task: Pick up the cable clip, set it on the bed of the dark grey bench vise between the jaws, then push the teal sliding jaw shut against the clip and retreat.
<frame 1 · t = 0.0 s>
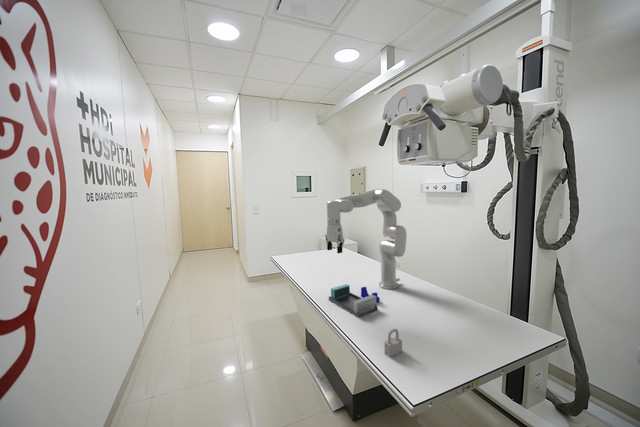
hand: (334, 251, 152), 31 cm above the table, tool pointing down, fingers open, 9 cm apart
sliding jaw: (340, 291, 160), point 5 cm above the table, slide at 5.0 cm
vise: (352, 305, 152), on the table
cable clip: (370, 299, 159), on the table
padlock: (393, 352, 107), on the table
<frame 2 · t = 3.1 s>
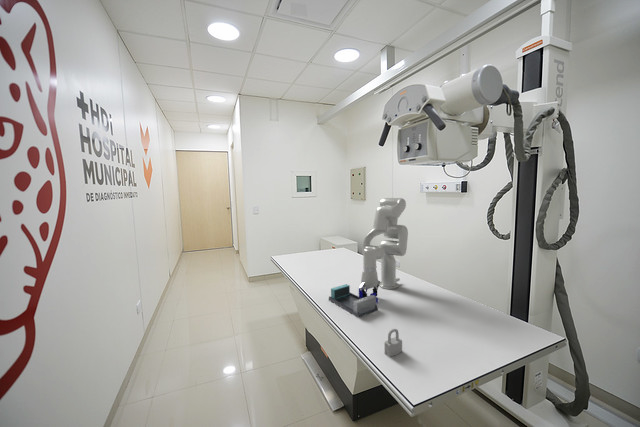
hand: (370, 297, 159), 1 cm above the table, tool pointing down, fingers open, 7 cm apart
cable clip: (368, 300, 158), on the table, touching gripper
everything else where it was.
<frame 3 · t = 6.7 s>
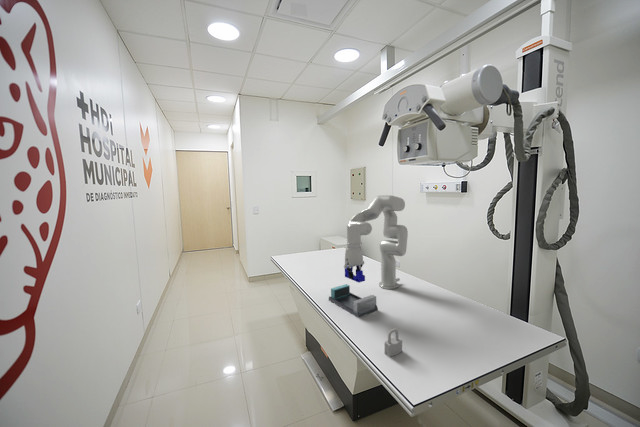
hand: (354, 277, 148), 17 cm above the table, tool pointing down, fingers closed on cable clip, 4 cm apart
cable clip: (354, 279, 148), point 16 cm above the table, touching gripper
everything else where it was.
when the fingers open (3 cm above the table, at t = 9.6 s): cable clip stays where it is, resting on vise.
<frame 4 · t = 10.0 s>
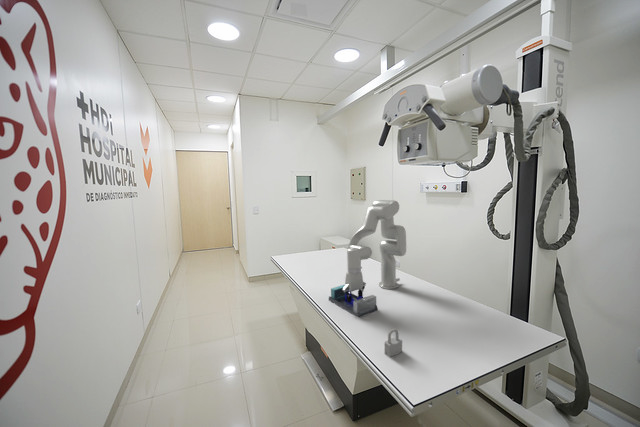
hand: (354, 299, 149), 4 cm above the table, tool pointing down, fingers open, 8 cm apart
cable clip: (354, 304, 149), point 1 cm above the table, touching vise
everything else where it was.
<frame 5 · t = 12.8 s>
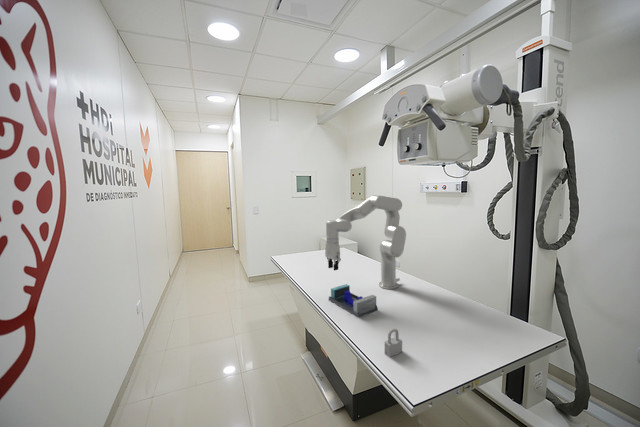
hand: (333, 268, 164), 17 cm above the table, tool pointing down, fingers open, 4 cm apart
nothing on the table moved.
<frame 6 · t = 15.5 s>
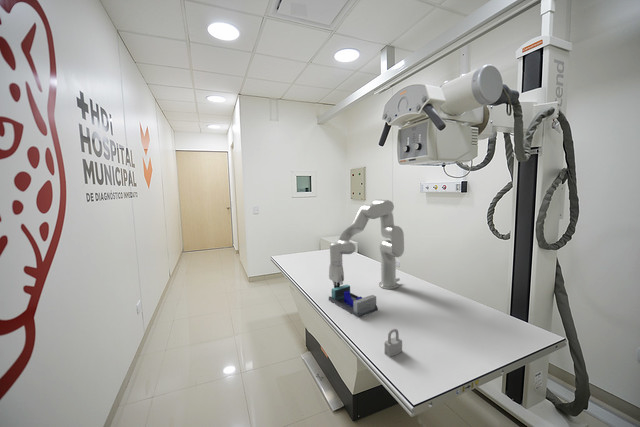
hand: (337, 291, 163), 4 cm above the table, tool pointing down, fingers closed
sliding jaw: (341, 291, 160), point 5 cm above the table, slide at 4.4 cm, touching gripper
everything else where it was.
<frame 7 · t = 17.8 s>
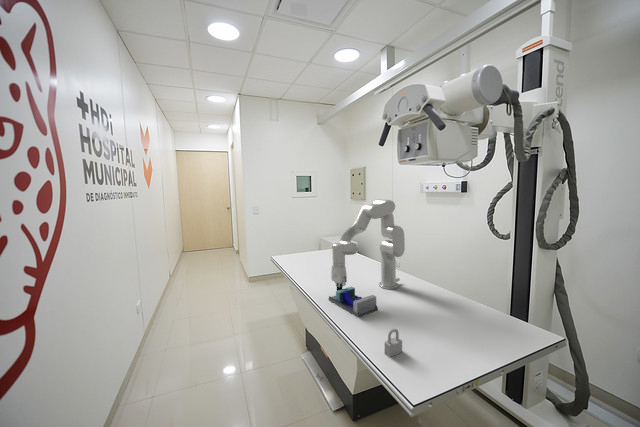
hand: (339, 292, 161), 4 cm above the table, tool pointing down, fingers closed
sliding jaw: (345, 294, 156), point 5 cm above the table, slide at 0.0 cm
everything else where it was.
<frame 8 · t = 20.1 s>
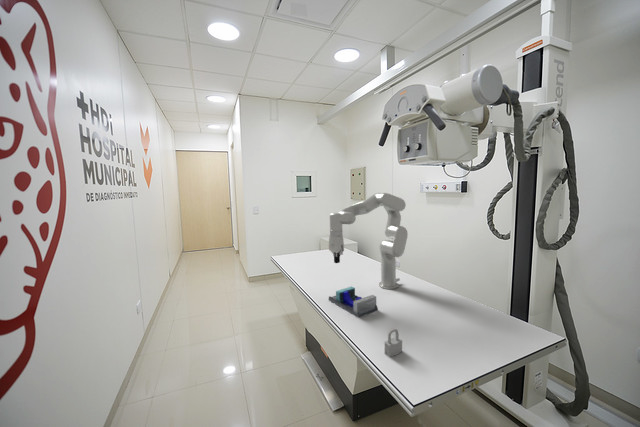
hand: (337, 262, 161), 22 cm above the table, tool pointing down, fingers closed
at the end: sliding jaw slide at 0.0 cm; cable clip 1.2 cm from the target spot, point 1.3 cm above the table; cable clip tilted 0° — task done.
